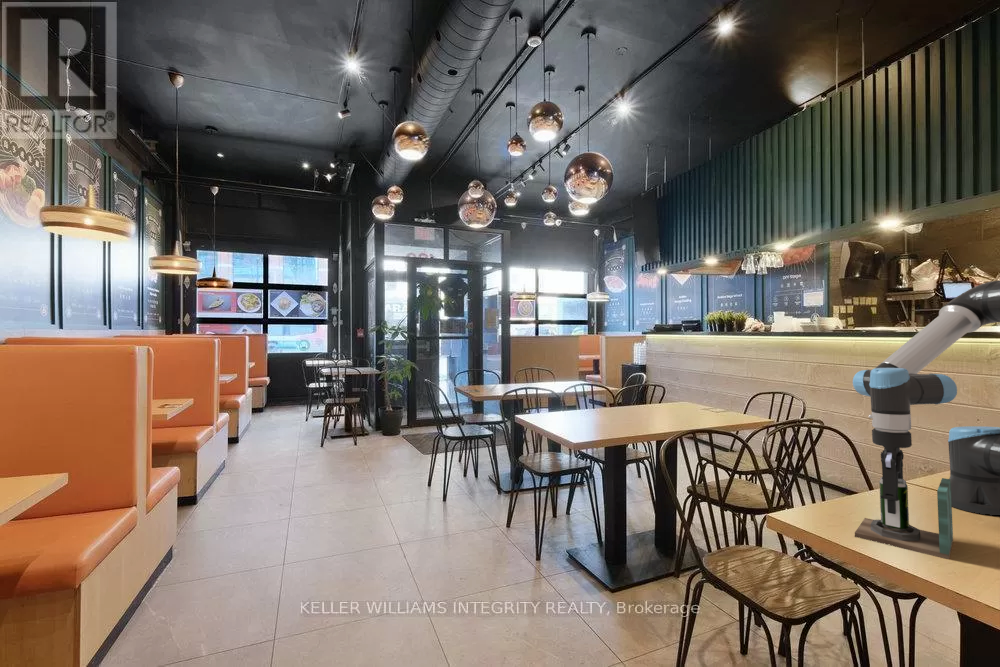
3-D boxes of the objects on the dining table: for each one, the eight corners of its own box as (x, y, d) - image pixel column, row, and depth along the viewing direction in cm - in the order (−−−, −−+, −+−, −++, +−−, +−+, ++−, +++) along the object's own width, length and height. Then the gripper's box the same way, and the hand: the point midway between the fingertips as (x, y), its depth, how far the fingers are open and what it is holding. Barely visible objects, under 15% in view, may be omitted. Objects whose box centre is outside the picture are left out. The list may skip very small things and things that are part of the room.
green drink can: (883, 529, 113) (881, 481, 113) (878, 521, 118) (876, 475, 118) (912, 533, 111) (910, 484, 111) (905, 525, 115) (904, 477, 115)
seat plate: (865, 521, 124) (862, 466, 124) (953, 540, 111) (950, 479, 111) (854, 536, 115) (852, 477, 115) (949, 559, 102) (946, 492, 103)
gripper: (878, 422, 123) (881, 508, 123) (864, 433, 111) (868, 528, 111) (915, 425, 118) (919, 515, 118) (905, 437, 106) (909, 538, 105)
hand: (894, 521), depth 114 cm, fingers closed on green drink can, 5 cm apart
